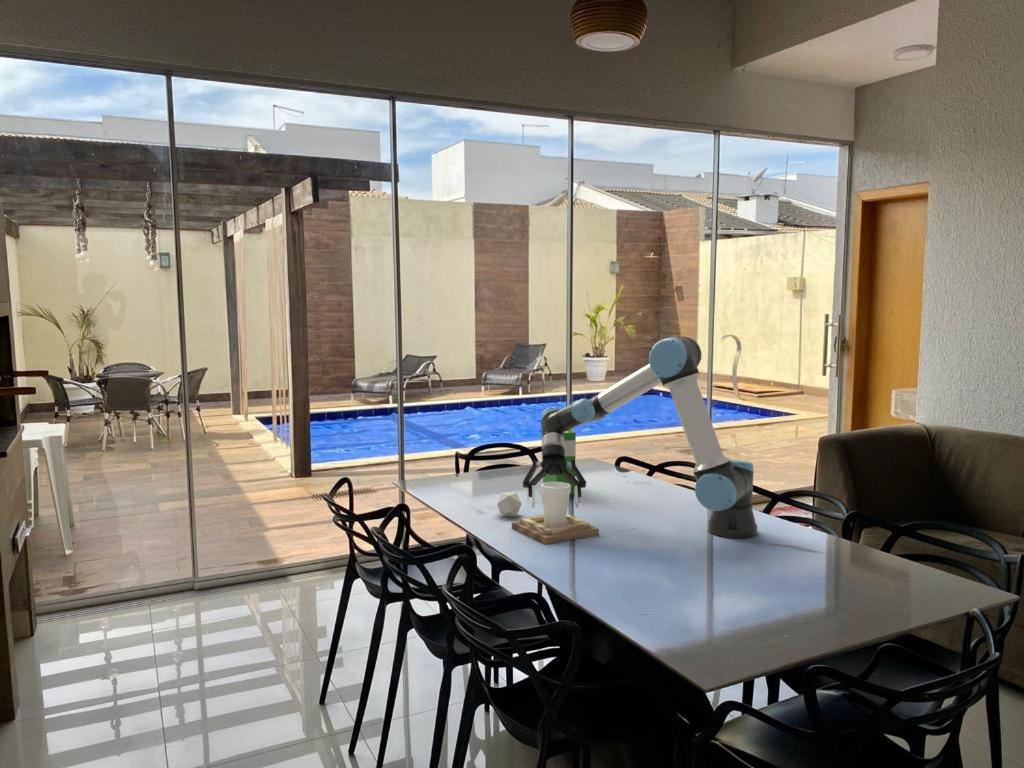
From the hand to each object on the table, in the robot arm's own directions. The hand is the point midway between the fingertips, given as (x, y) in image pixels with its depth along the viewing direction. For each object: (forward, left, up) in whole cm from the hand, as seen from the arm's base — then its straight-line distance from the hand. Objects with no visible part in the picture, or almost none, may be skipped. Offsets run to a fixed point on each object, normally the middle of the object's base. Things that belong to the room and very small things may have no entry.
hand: (555, 505), depth 251 cm
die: (+26, +2, -9) cm, 28 cm away
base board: (+2, -1, -9) cm, 9 cm away
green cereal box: (+49, -33, -9) cm, 60 cm away
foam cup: (+2, -1, -7) cm, 8 cm away
